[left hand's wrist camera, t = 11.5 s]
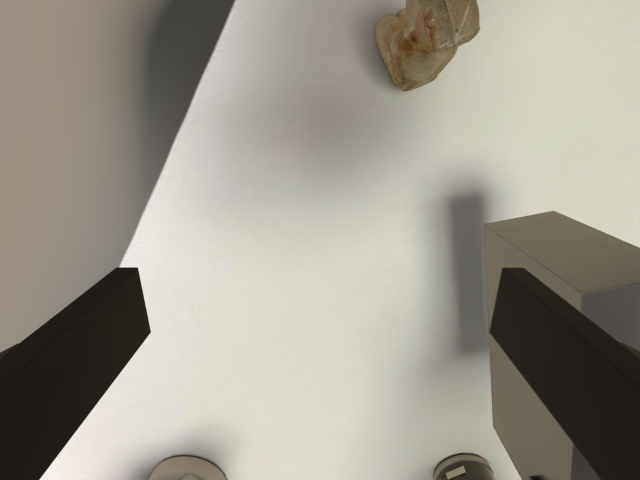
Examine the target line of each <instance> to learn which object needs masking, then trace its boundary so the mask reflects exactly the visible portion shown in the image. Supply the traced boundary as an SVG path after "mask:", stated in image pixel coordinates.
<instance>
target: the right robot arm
mask: <svg viewBox="0 0 640 480" xmlns="http://www.w3.org/2000/svg"><path fill="white" fill-rule="evenodd" d="M434 480H495V478H494V475H493V472H492V470H491V468H490V466H489V464H488V462H487V461H486V460H484V459H483V458H481V457H479V456H476V455H470V454H463V455H456V456H453V457H450V458H448V459H446V460H445V461H443V462H442V463H441V464H439V466H438V467H437V468H436V470H435V472H434ZM528 480H540V479H539V477H538V476H537V475H534V476H528Z"/></svg>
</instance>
